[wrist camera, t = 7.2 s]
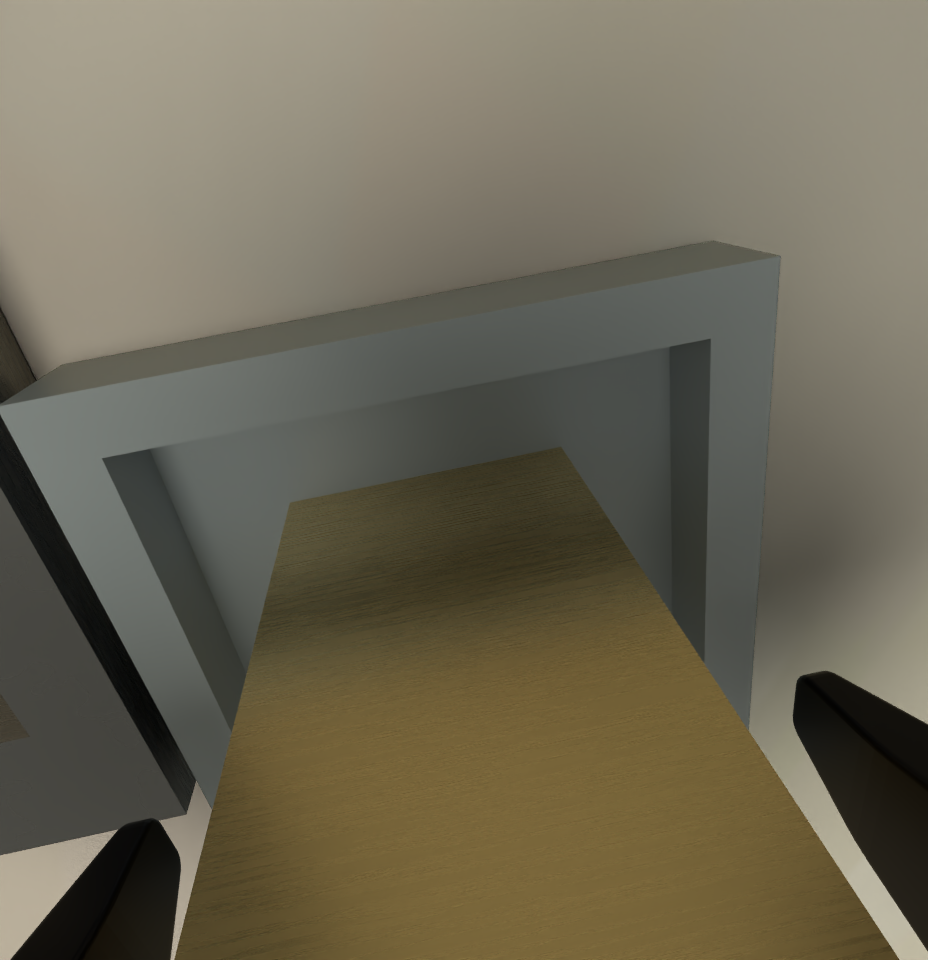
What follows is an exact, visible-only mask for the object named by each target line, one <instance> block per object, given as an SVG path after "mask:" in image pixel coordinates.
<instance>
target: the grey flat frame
mask: <svg viewBox="0 0 928 960" xmlns="http://www.w3.org/2000/svg"><path fill="white" fill-rule="evenodd" d="M34 382H36V381H35V379H34V377H33V375H32V373H31V371H30V369H29V367H28V365H27V363H26V361H25V359H24V357H23V355H22V353H21V351H20V349H19V347H18V345H17V342H16V340H15V338H14V336H13V334H12V332H11V330H10V328H9V326H8V324H7V322H6V320H5V318H4V316H3V314H2V312H1V310H0V404H1V403H3V402H4V401H6V400H8V399H9V398H11V397H12V396H14V395H15V394H17V393H19V392H20V391H22V390H23V389H25V388H26V387H28V386H29V385H31V384H33V383H34ZM195 783H196V779H195V777H194V775H193V773H192V771H191V769H190V767H189V766H188V764H187V762H186V760H185V758H184V756H183V754H182V752H181V751H180V749H179V747H178V745H177V743H176V741H175V739H174V738H173V736H172V734H171V732H170V730H169V728H168V726H167V724H166V723H165V721H164V719H163V717H162V715H161V713H160V711H159V710H158V708H157V706H156V704H155V702H154V700H153V698H152V697H151V695H150V693H149V691H148V689H147V687H146V685H145V683H144V682H143V680H142V678H141V676H140V674H139V672H138V670H137V669H136V667H135V665H134V663H133V661H132V659H131V657H130V655H129V654H128V652H127V650H126V648H125V646H124V644H123V642H122V641H121V639H120V637H119V635H118V633H117V631H116V629H115V628H114V626H113V624H112V622H111V620H110V618H109V616H108V614H107V613H106V611H105V609H104V607H103V605H102V603H101V601H100V600H99V598H98V596H97V594H96V592H95V590H94V588H93V587H92V585H91V583H90V581H89V579H88V577H87V575H86V573H85V572H84V570H83V568H82V566H81V564H80V562H79V560H78V559H77V557H76V555H75V553H74V551H73V549H72V547H71V545H70V544H69V542H68V540H67V538H66V536H65V534H64V532H63V531H62V529H61V527H60V525H59V523H58V521H57V519H56V518H55V516H54V514H53V512H52V510H51V508H50V506H49V504H48V503H47V501H46V499H45V497H44V495H43V493H42V491H41V490H40V488H39V486H38V484H37V482H36V480H35V478H34V477H33V475H32V473H31V471H30V469H29V467H28V465H27V463H26V462H25V460H24V458H23V456H22V454H21V452H20V450H19V449H18V447H17V445H16V443H15V441H14V439H13V437H12V435H11V434H10V432H9V430H8V428H7V426H6V424H5V422H4V421H3V419H2V417H1V415H0V855H3V854H8V853H13V852H17V851H22V850H26V849H31V848H35V847H40V846H44V845H49V844H54V843H58V842H63V841H67V840H72V839H76V838H81V837H86V836H90V835H95V834H99V833H104V832H108V831H113V830H117V829H120V828H121V827H122V826H124V825H125V824H127V823H130V822H135V821H140V820H144V819H149V818H154V819H156V820H163V819H168V818H172V817H177V816H181V815H186V814H187V810H188V807H189V803H190V800H191V797H192V793H193V790H194V786H195Z"/></svg>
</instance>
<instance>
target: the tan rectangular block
mask: <svg viewBox="0 0 928 960" xmlns="http://www.w3.org/2000/svg"><path fill="white" fill-rule="evenodd" d="M174 960H899V958H898V957H897V955H896V954H895V952H894V951H893V949H892V948H891V946H890V945H889V943H888V942H887V940H886V939H885V937H884V936H883V934H882V933H881V931H880V930H879V928H878V927H877V925H876V924H875V922H874V920H873V919H872V917H871V916H870V914H869V913H868V911H867V910H866V908H865V907H864V905H863V904H862V902H861V901H860V899H859V898H858V896H857V895H856V893H855V892H854V890H853V889H852V887H851V886H850V884H849V883H848V881H847V880H846V878H845V876H844V875H843V873H842V872H841V870H840V869H839V867H838V866H837V864H836V863H835V861H834V860H833V858H832V857H831V855H830V854H829V852H828V851H827V849H826V848H825V846H824V845H823V843H822V842H821V840H820V839H819V837H818V836H817V834H816V832H815V831H814V829H813V828H812V826H811V825H810V823H809V822H808V820H807V819H806V817H805V816H804V814H803V813H802V811H801V810H800V808H799V807H798V805H797V804H796V802H795V801H794V799H793V798H792V796H791V795H790V793H789V792H788V790H787V788H786V787H785V785H784V784H783V782H782V781H781V779H780V778H779V776H778V775H777V773H776V772H775V770H774V769H773V767H772V766H771V764H770V763H769V761H768V760H767V758H766V757H765V755H764V754H763V752H762V751H761V749H760V748H759V746H758V744H757V743H756V741H755V740H754V738H753V737H752V735H751V734H750V732H749V731H748V729H747V728H746V726H745V725H744V723H743V722H742V720H741V719H740V717H739V716H738V714H737V713H736V711H735V710H734V708H733V707H732V705H731V704H730V702H729V700H728V699H727V697H726V696H725V694H724V693H723V691H722V690H721V688H720V687H719V685H718V684H717V682H716V681H715V679H714V678H713V676H712V675H711V673H710V672H709V670H708V669H707V667H706V666H705V664H704V663H703V661H702V660H701V658H700V656H699V655H698V653H697V652H696V650H695V649H694V647H693V646H692V644H691V643H690V641H689V640H688V638H687V637H686V635H685V634H684V632H683V631H682V629H681V628H680V626H679V625H678V623H677V622H676V620H675V619H674V617H673V616H672V614H671V612H670V611H669V609H668V608H667V606H666V605H665V603H664V602H663V600H662V599H661V597H660V596H659V594H658V593H657V591H656V590H655V588H654V587H653V585H652V584H651V582H650V581H649V579H648V578H647V576H646V575H645V573H644V572H643V570H642V568H641V567H640V565H639V564H638V562H637V561H636V559H635V558H634V556H633V555H632V553H631V552H630V550H629V549H628V547H627V546H626V544H625V543H624V541H623V540H622V538H621V537H620V535H619V534H618V532H617V531H616V529H615V528H614V526H613V524H612V523H611V521H610V520H609V518H608V517H607V515H606V514H605V512H604V511H603V509H602V508H601V506H600V505H599V503H598V502H597V500H596V499H595V497H594V496H593V494H592V493H591V491H590V490H589V488H588V487H587V485H586V484H585V482H584V480H583V479H582V477H581V476H580V474H579V473H578V471H577V470H576V468H575V467H574V465H573V464H572V462H571V461H570V459H569V458H568V456H567V455H566V453H565V452H564V450H563V449H562V447H557V448H553V449H548V450H543V451H538V452H533V453H528V454H523V455H519V456H514V457H509V458H504V459H499V460H494V461H489V462H485V463H480V464H475V465H470V466H465V467H460V468H455V469H451V470H446V471H441V472H436V473H431V474H426V475H422V476H417V477H412V478H407V479H402V480H397V481H392V482H388V483H383V484H378V485H373V486H368V487H363V488H358V489H354V490H349V491H344V492H339V493H334V494H329V495H324V496H320V497H315V498H310V499H305V500H300V501H295V502H290V504H289V508H288V512H287V516H286V520H285V524H284V528H283V532H282V536H281V540H280V544H279V548H278V552H277V556H276V560H275V563H274V567H273V571H272V575H271V579H270V583H269V587H268V591H267V595H266V599H265V603H264V607H263V611H262V615H261V619H260V623H259V627H258V631H257V635H256V639H255V643H254V647H253V651H252V655H251V658H250V662H249V666H248V670H247V674H246V678H245V682H244V686H243V690H242V694H241V698H240V702H239V706H238V710H237V714H236V718H235V722H234V726H233V730H232V734H231V738H230V742H229V746H228V750H227V754H226V757H225V761H224V765H223V769H222V773H221V777H220V781H219V785H218V789H217V793H216V797H215V801H214V805H213V809H212V813H211V817H210V821H209V825H208V829H207V833H206V837H205V841H204V845H203V849H202V853H201V856H200V860H199V864H198V868H197V872H196V876H195V880H194V884H193V888H192V892H191V896H190V900H189V904H188V908H187V912H186V916H185V920H184V924H183V928H182V932H181V936H180V940H179V944H178V948H177V952H176V955H175V959H174Z"/></svg>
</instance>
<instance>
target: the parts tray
mask: <svg viewBox="0 0 928 960" xmlns="http://www.w3.org/2000/svg"><path fill="white" fill-rule="evenodd" d="M780 258H781V256H778V255H774V254H770V253H765V252H761V251H756V250H752V249H747V248H743V247H739V246H734V245H730V244H725V243H721V242H716V241H710V242H705V243H700V244H694V245H689V246H684V247H679V248H673V249H668V250H663V251H658V252H652V253H647V254H642V255H637V256H631V257H626V258H621V259H616V260H610V261H605V262H600V263H595V264H589V265H584V266H579V267H574V268H568V269H563V270H558V271H553V272H547V273H542V274H537V275H532V276H526V277H521V278H516V279H511V280H505V281H500V282H495V283H490V284H484V285H479V286H474V287H469V288H463V289H458V290H453V291H448V292H442V293H437V294H432V295H427V296H421V297H416V298H411V299H406V300H400V301H395V302H390V303H385V304H379V305H374V306H369V307H364V308H358V309H353V310H348V311H343V312H337V313H332V314H327V315H322V316H316V317H311V318H306V319H301V320H295V321H290V322H285V323H280V324H274V325H269V326H264V327H259V328H253V329H248V330H243V331H238V332H232V333H227V334H222V335H217V336H211V337H206V338H201V339H196V340H190V341H185V342H180V343H175V344H169V345H164V346H159V347H154V348H148V349H143V350H138V351H133V352H127V353H122V354H117V355H112V356H106V357H101V358H96V359H91V360H85V361H80V362H75V363H70V364H64V365H61V366H59V367H58V368H56V369H55V370H53V371H51V372H50V373H48V374H47V375H45V376H44V377H42V378H40V379H39V380H37V381H36V382H34V383H33V384H31V385H29V386H28V387H26V388H25V389H23V390H22V391H20V392H19V393H17V394H15V395H14V396H12V397H11V398H9V399H8V400H6V401H4V402H3V403H1V404H0V415H1V417H2V419H3V421H4V422H5V424H6V426H7V428H8V430H9V432H10V434H11V435H12V437H13V439H14V441H15V443H16V445H17V447H18V449H19V450H20V452H21V454H22V456H23V458H24V460H25V462H26V463H27V465H28V467H29V469H30V471H31V473H32V475H33V477H34V478H35V480H36V482H37V484H38V486H39V488H40V490H41V491H42V493H43V495H44V497H45V499H46V501H47V503H48V504H49V506H50V508H51V510H52V512H53V514H54V516H55V518H56V519H57V521H58V523H59V525H60V527H61V529H62V531H63V532H64V534H65V536H66V538H67V540H68V542H69V544H70V545H71V547H72V549H73V551H74V553H75V555H76V557H77V559H78V560H79V562H80V564H81V566H82V568H83V570H84V572H85V573H86V575H87V577H88V579H89V581H90V583H91V585H92V587H93V588H94V590H95V592H96V594H97V596H98V598H99V600H100V601H101V603H102V605H103V607H104V609H105V611H106V613H107V614H108V616H109V618H110V620H111V622H112V624H113V626H114V628H115V629H116V631H117V633H118V635H119V637H120V639H121V641H122V642H123V644H124V646H125V648H126V650H127V652H128V654H129V655H130V657H131V659H132V661H133V663H134V665H135V667H136V669H137V670H138V672H139V674H140V676H141V678H142V680H143V682H144V683H145V685H146V687H147V689H148V691H149V693H150V695H151V697H152V698H153V700H154V702H155V704H156V706H157V708H158V710H159V711H160V713H161V715H162V717H163V719H164V721H165V723H166V724H167V726H168V728H169V730H170V732H171V734H172V736H173V738H174V739H175V741H176V743H177V745H178V747H179V749H180V751H181V752H182V754H183V756H184V758H185V760H186V762H187V764H188V766H189V767H190V769H191V771H192V773H193V775H194V777H195V779H196V780H197V782H198V784H199V786H200V788H201V790H202V792H203V793H204V795H205V797H206V799H207V801H208V803H209V805H210V807H211V808H212V809H213V805H214V801H215V797H216V793H217V789H218V785H219V781H220V777H221V773H222V769H223V765H224V761H225V757H226V754H227V750H228V746H229V742H230V738H231V734H232V730H233V726H234V722H235V718H236V714H237V710H238V706H239V702H240V698H241V694H242V690H243V686H244V682H245V678H246V674H247V670H248V666H249V662H250V658H251V655H252V651H253V647H254V643H255V639H256V635H257V631H258V627H259V623H260V619H261V615H262V611H263V607H264V603H265V599H266V595H267V591H268V587H269V583H270V579H271V575H272V571H273V567H274V563H275V560H276V556H277V552H278V548H279V544H280V540H281V536H282V532H283V528H284V524H285V520H286V516H287V512H288V508H289V504H290V502H295V501H300V500H305V499H310V498H315V497H320V496H324V495H329V494H334V493H339V492H344V491H349V490H354V489H358V488H363V487H368V486H373V485H378V484H383V483H388V482H392V481H397V480H402V479H407V478H412V477H417V476H422V475H426V474H431V473H436V472H441V471H446V470H451V469H455V468H460V467H465V466H470V465H475V464H480V463H485V462H489V461H494V460H499V459H504V458H509V457H514V456H519V455H523V454H528V453H533V452H538V451H543V450H548V449H553V448H557V447H562V449H563V450H564V452H565V453H566V455H567V456H568V458H569V459H570V461H571V462H572V464H573V465H574V467H575V468H576V470H577V471H578V473H579V474H580V476H581V477H582V479H583V480H584V482H585V484H586V485H587V487H588V488H589V490H590V491H591V493H592V494H593V496H594V497H595V499H596V500H597V502H598V503H599V505H600V506H601V508H602V509H603V511H604V512H605V514H606V515H607V517H608V518H609V520H610V521H611V523H612V524H613V526H614V528H615V529H616V531H617V532H618V534H619V535H620V537H621V538H622V540H623V541H624V543H625V544H626V546H627V547H628V549H629V550H630V552H631V553H632V555H633V556H634V558H635V559H636V561H637V562H638V564H639V565H640V567H641V568H642V570H643V572H644V573H645V575H646V576H647V578H648V579H649V581H650V582H651V584H652V585H653V587H654V588H655V590H656V591H657V593H658V594H659V596H660V597H661V599H662V600H663V602H664V603H665V605H666V606H667V608H668V609H669V611H670V612H671V614H672V616H673V617H674V619H675V620H676V622H677V623H678V625H679V626H680V628H681V629H682V631H683V632H684V634H685V635H686V637H687V638H688V640H689V641H690V643H691V644H692V646H693V647H694V649H695V650H696V652H697V653H698V655H699V656H700V658H701V660H702V661H703V663H704V664H705V666H706V667H707V669H708V670H709V672H710V673H711V675H712V676H713V678H714V679H715V681H716V682H717V684H718V685H719V687H720V688H721V690H722V691H723V693H724V694H725V696H726V697H727V699H728V700H729V702H730V704H731V705H732V707H733V708H734V710H735V711H736V713H737V714H738V716H739V717H740V719H741V720H742V722H743V723H744V725H745V726H746V728H747V729H748V731H749V716H750V702H751V687H752V672H753V657H754V643H755V628H756V613H757V598H758V583H759V569H760V554H761V539H762V524H763V509H764V495H765V480H766V465H767V450H768V436H769V421H770V406H771V391H772V376H773V362H774V347H775V332H776V317H777V302H778V288H779V273H780Z"/></svg>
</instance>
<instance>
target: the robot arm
mask: <svg viewBox="0 0 928 960" xmlns="http://www.w3.org/2000/svg"><path fill="white" fill-rule="evenodd" d="M793 722H794V726H795V729H796V732H797V734H798V736H799V738H800V740H801V742H802V744H803V745H804V747H805V749H806V751H807V753H808V755H809V757H810V759H811V760H812V762H813V764H814V766H815V768H816V770H817V772H818V773H819V775H820V777H821V779H822V781H823V783H824V785H825V787H826V788H827V790H828V792H829V794H830V796H831V798H832V800H833V802H834V803H835V805H836V807H837V809H838V811H839V813H840V815H841V816H842V818H843V820H844V822H845V824H846V826H847V827H848V829H849V831H850V833H851V835H852V836H853V838H854V840H855V842H856V843H857V845H858V846H859V848H860V849H861V851H862V853H863V854H864V856H865V857H866V859H867V860H868V862H869V864H870V865H871V867H872V868H873V870H874V871H875V873H876V874H877V876H878V877H879V879H880V880H881V882H882V883H883V885H884V886H885V888H886V889H887V891H888V892H889V894H890V895H891V897H892V898H893V900H894V901H895V903H896V904H897V906H898V907H899V909H900V910H901V912H902V913H903V915H904V916H905V918H906V919H907V921H908V922H909V924H910V925H911V927H912V928H913V930H914V931H915V933H916V934H917V936H918V937H919V939H920V940H921V942H922V943H923V945H924V946H925V948H926V949H927V951H928V724H926V723H925V722H923V721H921V720H919V719H917V718H915V717H914V716H912V715H910V714H908V713H906V712H904V711H903V710H901V709H899V708H897V707H895V706H893V705H892V704H890V703H888V702H886V701H884V700H882V699H881V698H879V697H877V696H875V695H873V694H871V693H870V692H868V691H866V690H864V689H862V688H860V687H859V686H857V685H855V684H853V683H851V682H849V681H848V680H846V679H844V678H842V677H840V676H838V675H837V674H834V673H832V672H829V671H821V672H816V673H811V674H807V675H803V676H801V677H800V678H799V679H798V680H797V684H796V692H795V701H794V710H793ZM180 873H181V862H180V857H179V854H178V851H177V849H176V848H175V846H174V845H173V843H172V841H171V840H170V838H169V836H168V835H167V833H166V831H165V830H164V828H163V826H162V825H161V823H160V822H159V821H158V820H156V819H154V818H149V819H144V820H140V821H135V822H130V823H127V824H125V825H124V826H122V827H121V828H120V829H119V830H118V831H117V832H116V833H115V834H114V835H113V837H112V838H111V839H110V840H109V841H108V843H107V844H106V845H105V846H104V848H103V849H102V850H101V851H100V852H99V854H98V855H97V856H96V857H95V858H94V860H93V861H92V862H91V863H90V864H89V866H88V867H87V868H86V869H85V870H84V872H83V873H82V874H81V875H80V876H79V878H78V879H77V880H76V881H75V882H74V884H73V885H72V886H71V887H70V888H69V890H68V891H67V892H66V893H65V895H64V896H63V897H62V898H61V899H60V901H59V902H58V903H57V904H56V905H55V907H54V908H53V909H52V910H51V911H50V913H49V914H48V915H47V916H46V917H45V919H44V920H43V921H42V922H41V923H40V925H39V926H38V927H37V928H36V929H35V931H34V932H33V933H32V934H31V936H30V937H29V938H28V939H27V940H26V942H25V943H24V944H23V945H22V946H21V948H20V949H19V950H18V951H17V952H16V954H15V955H14V956H13V957H12V958H11V960H170V959H171V950H172V942H173V933H174V925H175V916H176V907H177V899H178V890H179V882H180Z"/></svg>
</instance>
